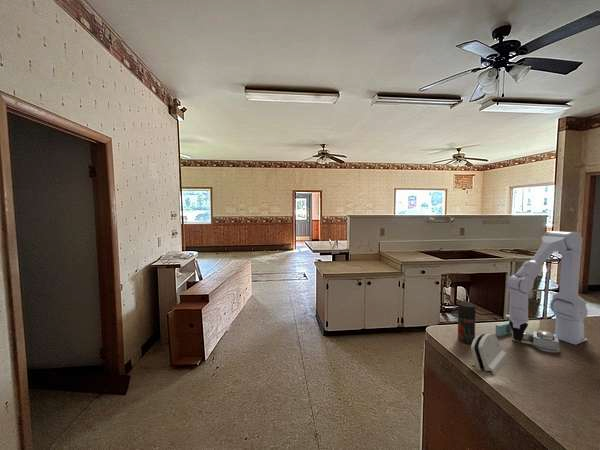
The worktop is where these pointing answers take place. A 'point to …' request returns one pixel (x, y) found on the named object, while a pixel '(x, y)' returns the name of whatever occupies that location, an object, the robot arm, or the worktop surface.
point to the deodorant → (466, 322)
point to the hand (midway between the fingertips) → (518, 340)
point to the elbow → (541, 341)
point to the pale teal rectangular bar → (503, 328)
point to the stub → (546, 336)
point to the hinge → (488, 353)
